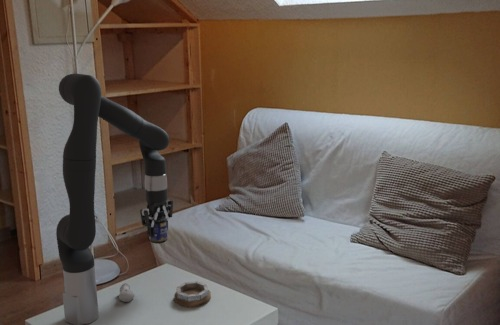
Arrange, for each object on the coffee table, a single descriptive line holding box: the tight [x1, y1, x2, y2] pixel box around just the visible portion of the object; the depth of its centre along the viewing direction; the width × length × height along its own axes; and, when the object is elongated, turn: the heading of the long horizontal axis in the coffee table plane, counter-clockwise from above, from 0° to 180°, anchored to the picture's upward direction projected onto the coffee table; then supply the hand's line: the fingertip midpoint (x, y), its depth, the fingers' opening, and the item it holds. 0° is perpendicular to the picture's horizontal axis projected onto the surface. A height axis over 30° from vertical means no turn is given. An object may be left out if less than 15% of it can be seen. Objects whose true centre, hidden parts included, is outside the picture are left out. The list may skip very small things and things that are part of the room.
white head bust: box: [118, 283, 136, 303], centre depth 177 cm, size 4×8×5 cm
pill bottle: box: [149, 210, 168, 244], centre depth 181 cm, size 6×6×11 cm
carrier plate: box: [174, 280, 212, 308], centre depth 176 cm, size 12×12×4 cm
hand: (158, 233), depth 182 cm, fingers closed on pill bottle, 6 cm apart
